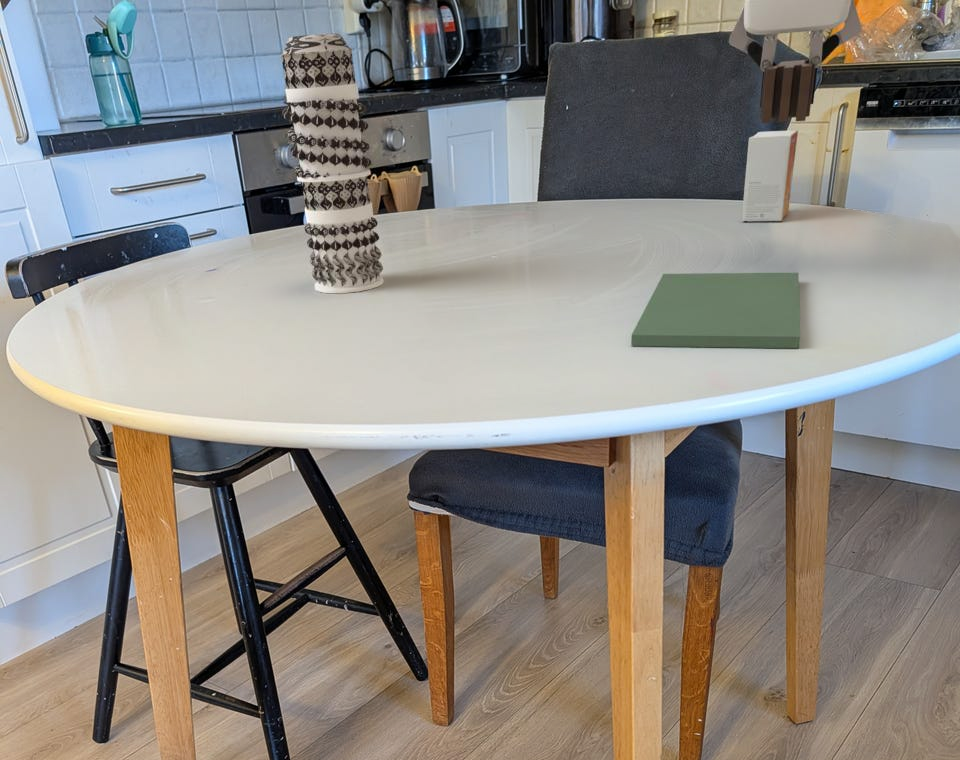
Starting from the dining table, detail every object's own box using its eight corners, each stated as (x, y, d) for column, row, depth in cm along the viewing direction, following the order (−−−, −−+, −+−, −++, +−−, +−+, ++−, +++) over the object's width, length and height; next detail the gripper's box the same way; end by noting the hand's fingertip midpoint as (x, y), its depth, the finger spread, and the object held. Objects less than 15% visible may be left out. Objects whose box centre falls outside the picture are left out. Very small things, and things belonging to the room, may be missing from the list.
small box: (781, 222, 121) (791, 135, 115) (740, 222, 123) (748, 136, 117) (789, 212, 127) (799, 129, 121) (749, 212, 129) (757, 131, 123)
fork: (766, 108, 102) (770, 62, 100) (809, 105, 101) (815, 59, 98) (757, 123, 86) (762, 69, 83) (809, 120, 84) (815, 65, 82)
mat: (798, 348, 73) (800, 336, 72) (631, 346, 77) (631, 334, 76) (797, 282, 92) (798, 272, 91) (662, 283, 96) (663, 273, 95)
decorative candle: (304, 296, 102) (260, 38, 88) (318, 279, 110) (280, 39, 96) (381, 291, 101) (349, 31, 88) (390, 274, 109) (362, 32, 95)
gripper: (899, -119, 83) (865, 106, 93) (724, -96, 88) (710, 116, 98) (906, -130, 77) (869, 112, 87) (717, -105, 82) (703, 121, 92)
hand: (785, 112), depth 92 cm, fingers closed on fork, 2 cm apart
